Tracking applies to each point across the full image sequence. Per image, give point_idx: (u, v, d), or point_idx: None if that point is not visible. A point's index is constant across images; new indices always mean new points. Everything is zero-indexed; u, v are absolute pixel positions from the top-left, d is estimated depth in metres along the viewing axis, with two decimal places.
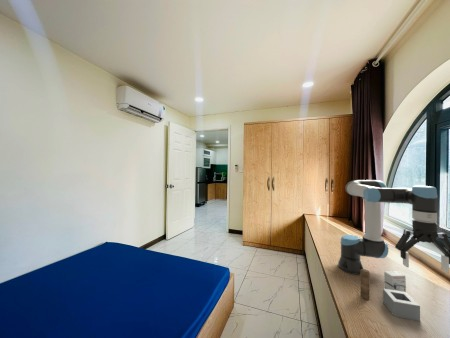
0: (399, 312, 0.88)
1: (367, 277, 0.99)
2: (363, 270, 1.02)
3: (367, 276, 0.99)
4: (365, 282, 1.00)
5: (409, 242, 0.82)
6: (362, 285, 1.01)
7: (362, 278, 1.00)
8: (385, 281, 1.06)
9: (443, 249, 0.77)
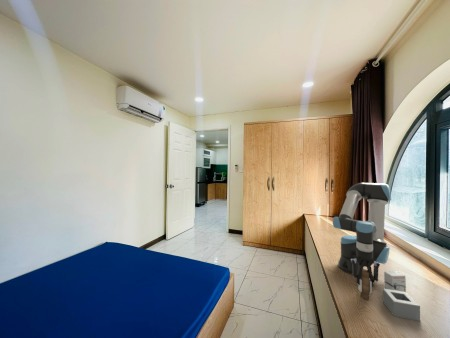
0: (399, 312, 0.88)
1: (367, 277, 0.99)
2: (363, 270, 1.02)
3: (367, 276, 0.99)
4: (365, 282, 1.00)
5: (358, 269, 1.02)
6: (362, 285, 1.01)
7: (362, 278, 1.01)
8: (385, 281, 1.06)
9: (371, 274, 0.99)
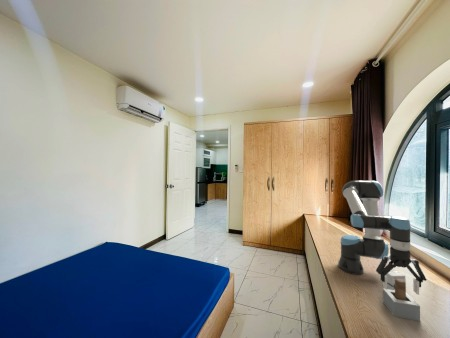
0: (399, 312, 0.88)
1: (403, 289, 0.90)
2: (398, 281, 0.92)
3: (403, 287, 0.90)
4: (401, 294, 0.90)
5: (387, 267, 0.93)
6: (397, 297, 0.91)
7: (397, 289, 0.91)
8: None
9: (415, 274, 0.89)
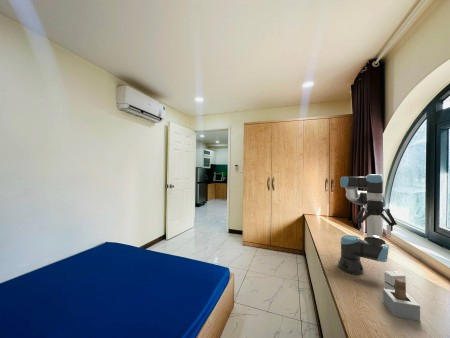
0: (399, 312, 0.88)
1: (403, 289, 0.90)
2: (398, 281, 0.92)
3: (403, 287, 0.90)
4: (401, 294, 0.90)
5: (364, 216, 1.10)
6: (397, 297, 0.91)
7: (397, 290, 0.91)
8: (385, 281, 1.06)
9: (387, 220, 1.05)
